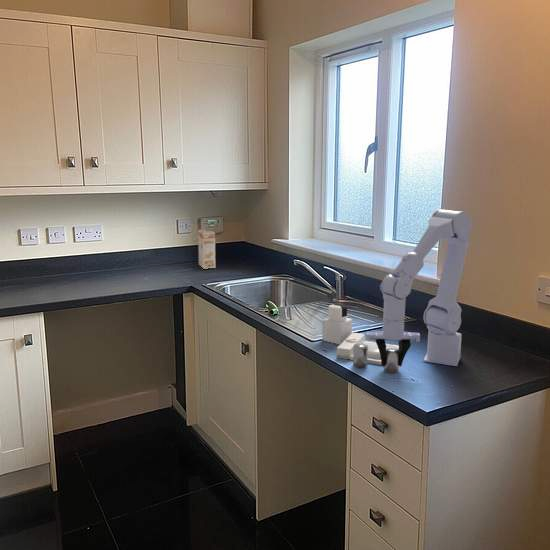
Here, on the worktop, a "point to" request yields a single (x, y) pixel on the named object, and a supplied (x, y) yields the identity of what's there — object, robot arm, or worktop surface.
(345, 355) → the scale
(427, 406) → the worktop surface
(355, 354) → the cylinder
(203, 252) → the coffeecake box
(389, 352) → the cylinder
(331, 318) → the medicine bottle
